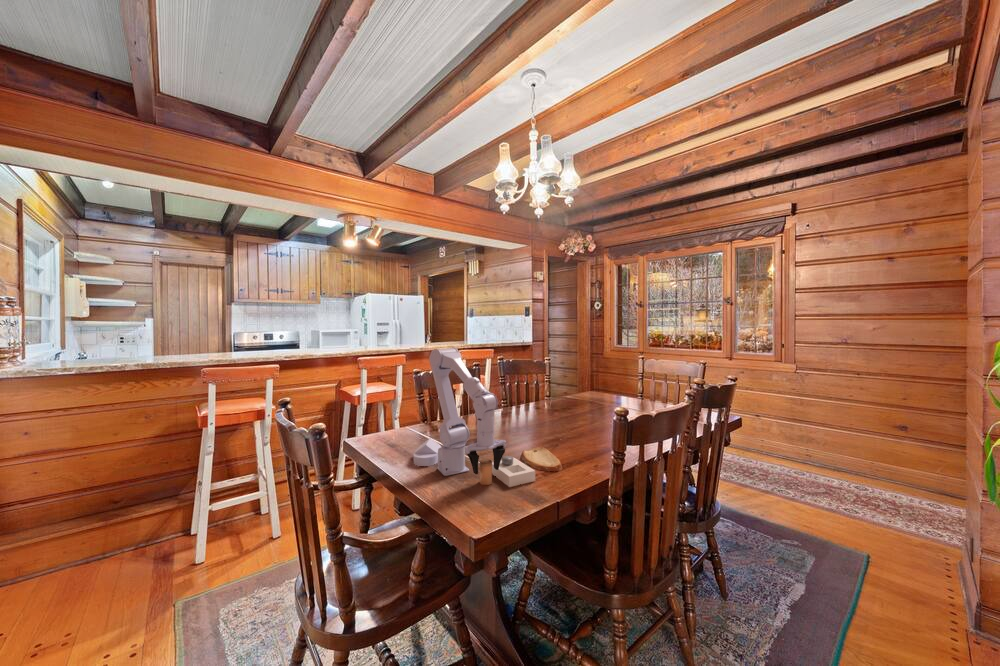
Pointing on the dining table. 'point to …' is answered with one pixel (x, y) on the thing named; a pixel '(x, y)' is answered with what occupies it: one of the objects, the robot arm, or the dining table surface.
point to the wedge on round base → (427, 453)
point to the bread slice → (541, 459)
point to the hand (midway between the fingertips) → (486, 471)
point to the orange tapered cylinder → (485, 472)
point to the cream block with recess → (513, 472)
